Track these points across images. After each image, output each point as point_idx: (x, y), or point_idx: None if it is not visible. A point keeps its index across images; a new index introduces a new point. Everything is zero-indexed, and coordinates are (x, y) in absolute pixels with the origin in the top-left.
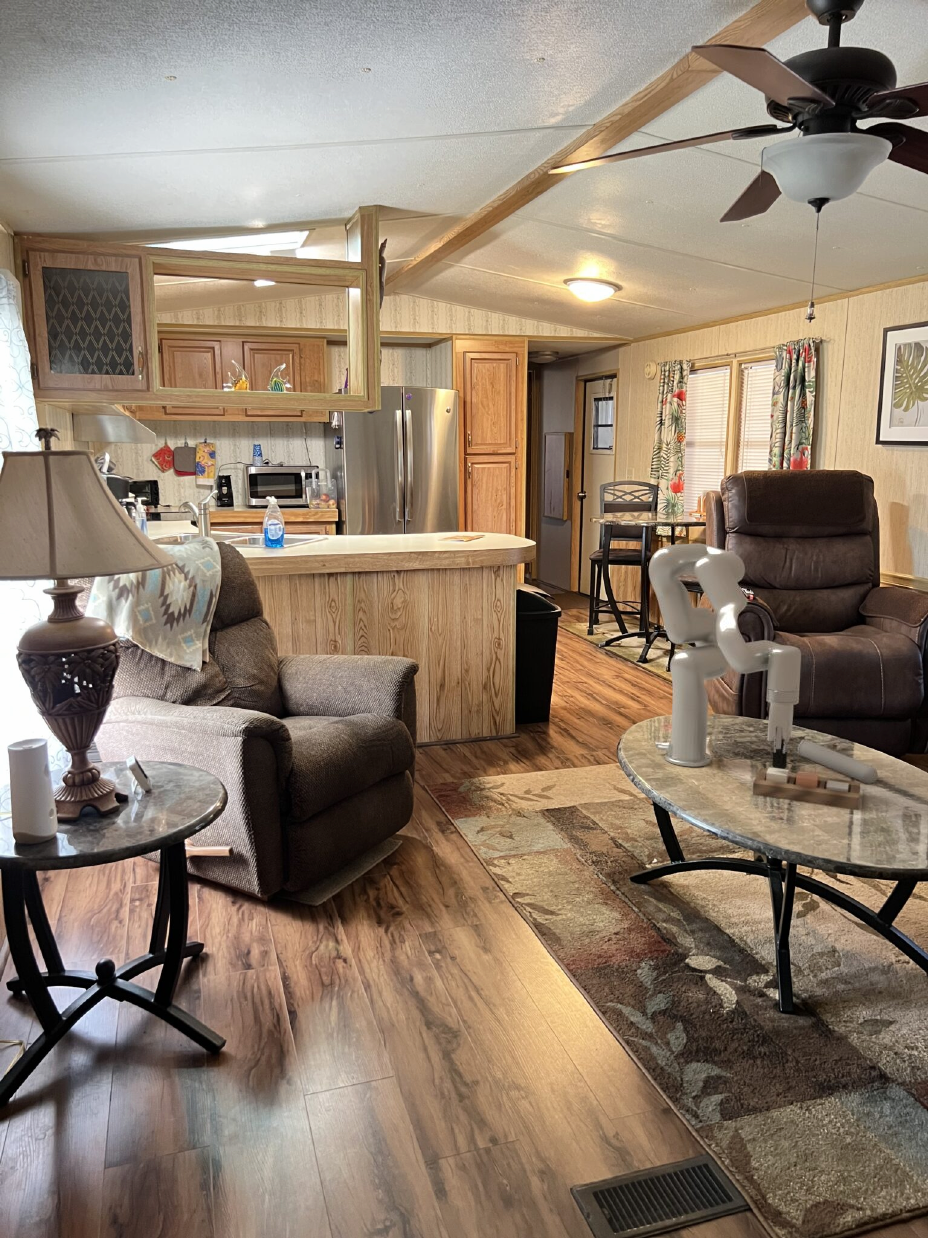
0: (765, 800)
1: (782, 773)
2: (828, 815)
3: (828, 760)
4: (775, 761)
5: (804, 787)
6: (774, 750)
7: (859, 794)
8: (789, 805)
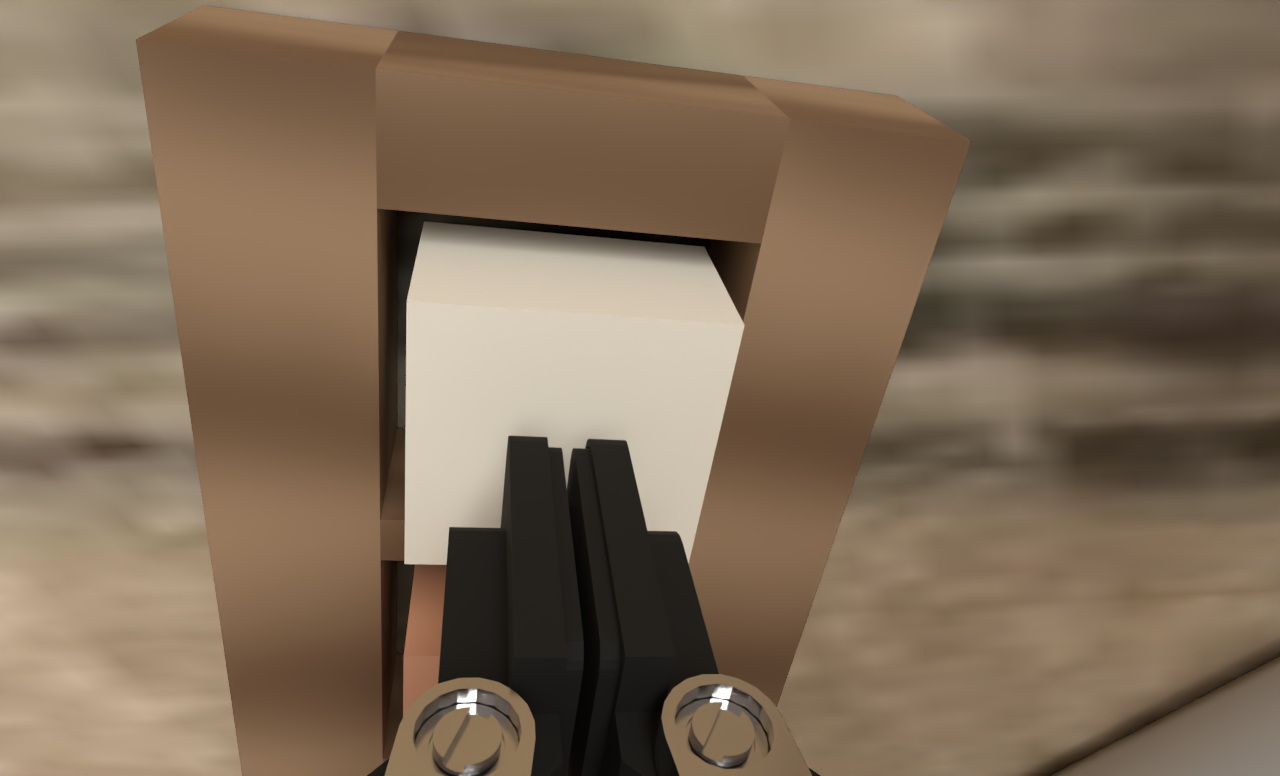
0: (57, 191)
1: (490, 512)
2: (8, 733)
3: (1275, 737)
4: (504, 545)
5: (326, 661)
6: (400, 757)
7: None
8: (59, 451)
